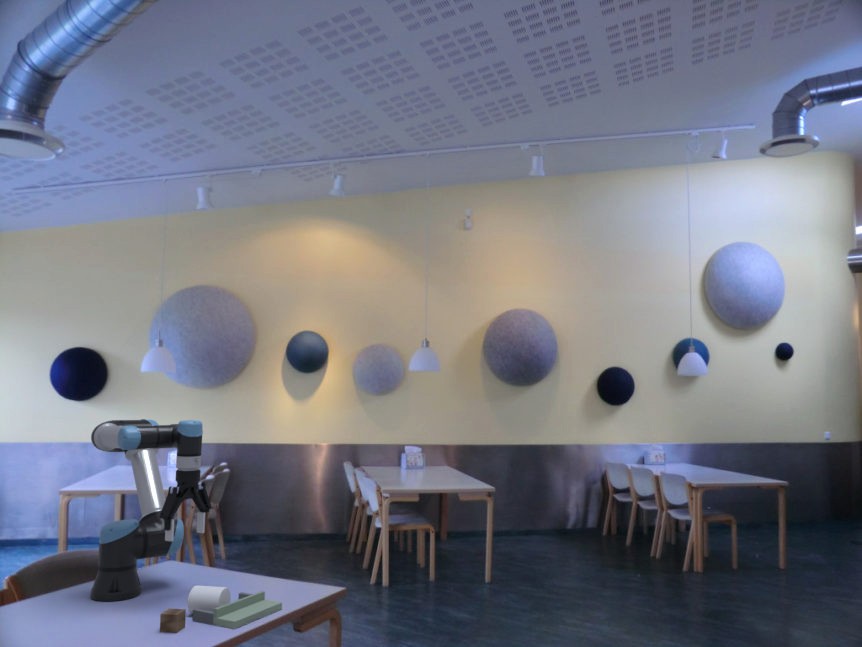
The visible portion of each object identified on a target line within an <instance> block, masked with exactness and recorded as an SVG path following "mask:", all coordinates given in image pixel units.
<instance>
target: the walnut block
mask: <svg viewBox="0 0 862 647" xmlns="http://www.w3.org/2000/svg"><path fill="white" fill-rule="evenodd" d="M186 612H187V609H185V608H183V609H182V608H168V609H166V610H165V611H163V612H161V613H160V619H159V620H160V622H159V633H165V634H166V633H168V634H170V633H171V634H178V633H179V632H180V631H182V630H183V629H185V628H186V614H187V613H186Z"/></svg>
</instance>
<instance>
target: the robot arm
mask: <svg viewBox="0 0 862 647" xmlns="http://www.w3.org/2000/svg"><path fill="white" fill-rule="evenodd" d="M203 434H204V431H203V421H201V420H194V419H187V420H183V419H182V420H180V421H178V423H170V424H164V425H163V424H162V425H161V424H159V423H158V422H157V421H155V420H153V419H146V418H143V419H116V420H115V419H113V420H107V421H103V422H101V423H100V424H98V425H97V426H95V427H94V428H93V429H92V432H91V436H90V439H91V443H92V445H93V446H94V447H95V448H96V449H97V450H99V451H102V452H105V453H107V452H108V453H124V456H125V459H126V460H128V461H129V462H130V463H131V468H132V473H133V479H134V483H135V488H136V492H137V497H138V503H139V507H140V513H141V517H140V519H139V520H138V519H136V518H135V519H134V518H129V519H121V520H116V521H112V522H109V523H106V524H105V525H103V526H102V527H101V529H100V531H99V538H98V564H97V574H96V576H95V580H94V582H93V586H92V588H91V589H90V599H91V598H92V600H93V599H94V601H97V602H116V601H125V600H128V599H133V598H135V597H138V596H140V595H141V594H142V584H141V581H140V578H139V573H138V570H137V569H138V568H137V565H138V563H137V562H138V560H143V559H151V558H159V557H167V556H170V555H174V554H176V553H178V552H179V551H180V550H181V547H182V544H183V541H184V538H185V537H184V536H185V535H184V533H185V526H184V522H183V520H182V519H181V518H175V514H176V513H177V511H178V510H179V508H180V507H181V505H182V503H183V502H184V501H185V500H188V499H192V501H193V504H195V506H196V508H197V509H198V510H199V511H197V514H196V533H198V534H205V532H206V530H205V529H206V528H205V527H206V521H207V513H209V512H210V510H211V509H212V504H211V501H210V498H209V494H208V492H207V489H206V486H207V485H206V482H205V481H201V469H200V468H201V467H202V466H201V465H202V464H201V463H202V449H203V448H202V447H203ZM161 449H176V459H175V460H176V461H175V468H176V470H175V482H176V484H177V485H176V486H169V487H168V493H167V495H165V490H164V486H163V482H162V477H161V473H160V468H159V464H158V460H157V455H158V453H159V450H161Z"/></svg>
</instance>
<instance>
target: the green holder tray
mask: <svg viewBox="0 0 862 647" xmlns="http://www.w3.org/2000/svg"><path fill="white" fill-rule="evenodd" d="M265 596H266V591H263V590H261V591H258V592H256V593H249V592H248V593H247V592H243V591H242V592H239V593H238V599H236V600H234V601H230V603H228V604H226V605H223V606H220V607H217V608H215V609H214V612H212V611H207V610H202V609H194V610H193V614H192V622H193V621H194V622H199V623H203V624H209V625H212V626H218V627H223V628H227V629H233V630H236V629H239V628H241V627H243V626H246V625H248V624H250V623H253V622H255V621H257V620H260V619H262V618H264V617H267V616H269V615H271V614H274V613H276V612H278V611H282V610H283V602H281V601H276V600H270V599H266V597H265Z"/></svg>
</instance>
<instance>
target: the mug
mask: <svg viewBox="0 0 862 647" xmlns="http://www.w3.org/2000/svg"><path fill="white" fill-rule="evenodd" d="M228 603H231V592H230V589H229V588H228V587H226V586H213V585H211V586H210V585H209V586H208V585H194V586H193V587H192V588H191V590H190V591H189V593H188V597H187V609H188V610H187V611H188V612H189V613H190V614H192V615H193V610H194V609H202V610H207V611H212V612H214V609H215V608H217V607H220V606H223V605H226V604H228Z"/></svg>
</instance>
